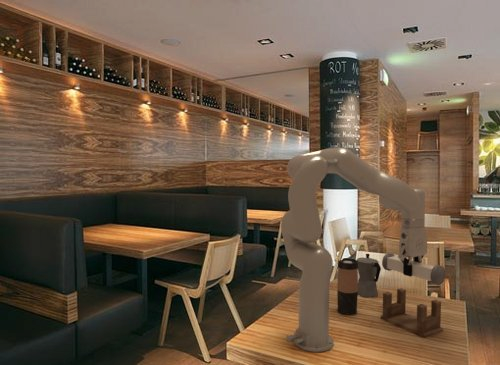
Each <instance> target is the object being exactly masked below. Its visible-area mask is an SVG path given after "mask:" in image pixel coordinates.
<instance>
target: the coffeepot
mask: <svg viewBox="0 0 500 365" xmlns="http://www.w3.org/2000/svg"><path fill="white" fill-rule="evenodd" d="M356 260H357V261H358V295H357V296H359V295H360V297H362V296H363V297H364V298H369V297H371V298H376V297H377V296H379V293H378V286H377V282H378V280H379V277H380V273H381V271H382V268H381V264H380V263H379V262H380V261H378V259H375V258H372V257H370V253H365V257H357V259H356Z"/></svg>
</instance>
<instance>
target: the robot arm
mask: <svg viewBox="0 0 500 365" xmlns="http://www.w3.org/2000/svg"><path fill="white" fill-rule="evenodd" d="M286 171H287V174H288V176H289V177H290V178H291V179H292V180H291V183H290V185H289V188H288V192H287V193H288V194H287V196H288V197H287V199H288V206H289V210H288V211H286V212H285V213H284V214H283V216H282V218H281V221H280V222H281V223H280V229H281V234H282V238H283V239H282V240H283V244H284V248H285V253H286V256H287V259H288V261H289V262H290V264H291V265H292V266H294V267H295V268H298V269H299V270H301V271H302V274H301V277H300V280H299V285H298V327H297V328H296V329H295V332H294V333H293V334H290V335H286V336H285V337H286V338H285V339H286V342H287V343H291V342H294V345H295V346H296V347H298V348H299V349H300V350H303V351H307V352H310V353H311V352H312V353H320V352H327V351H329V350H331V349H332V348H333V347H334V343H335V341H334V338H333V337H332V336H330V332H329V331H330V327H329V326H330V282H331V281H330V280H331V276H332V270H333V257H332V254H331V253H330V251H329V250H328V249H327V248H325V247H324V246H321V245H319V244H317V243H315V242H317V241H318V240H319V239H320V238H321V236H322V232H323V230H322V229H323V228H322V223H321V218H320V213H319V209H318V203H317V202H318V201H317V190H318V188H319V185H320V184H321V182H322V181H323V180H324V179H325V177H326V176H327V174H336V175H338V176H340V177H341V178H342V179H344V180H346V181H347V182H348V183H350V184H351V185H353V186H354V187H355V188H357V189H359V190H360V191H362V192H366V193H368V194H372V195H376V196H378V203H379V204H380V205H381V206H382V207H383V208H384V209H387V210H391V211H399V212H401V221H400V222H401V223H400V224H401V226H400V232H399V240H398V241H399V243H398V255H397V257H398V258H399V259H401V261H402V263H403V273H402V274H403V275H404V276H408V277H412V265H411V261H415V262H419V263H423V258H424V256H425V255H427V253H428V235H427V229H426V227H425V224H426V221H425V220H426V218H425V217H426V216H425V214H426V192H425V191H426V190H424V189H423V188H414V187H411V186H410V185H409V184H407V183H406V182H405V181H403V180H401V179H399V178H397V177H396V176H393V175H390V174H388V173H387V172H384V171H382V170H379V169H377V168H375V167H374V166H372V165H371V164H370V163H368V162H366V160H364V159H363V158H361V157H360V156H358V155H357V154H356V153H354V151H352V150H350V149H348V148H346V147H329V148H324V149H321V150H317V151H312V152H308V153H303V154H299V155H298V154H297V155H295V156H293V157H291V159H290V160H289V161H288V163H287V166H286Z"/></svg>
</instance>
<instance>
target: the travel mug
mask: <svg viewBox="0 0 500 365" xmlns="http://www.w3.org/2000/svg"><path fill="white" fill-rule="evenodd" d="M358 280H359V273H358V261H357V259H354V258H353V259H352V258H342V259H341V260H340V259H338V260H337V284H336V285H337V289H336V291H337V295H336V296H337V297H336V298H337V312H338V314H341V315H344V316H354V315H356V314H357V312H358V311H357V310H358V296H359V295H358Z"/></svg>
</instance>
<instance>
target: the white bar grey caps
mask: <svg viewBox="0 0 500 365" xmlns="http://www.w3.org/2000/svg"><path fill="white" fill-rule="evenodd" d="M394 254H395V253H391V252H387V253H386V254H384V255H383V256H382V260H381V262H382V263H381V265H382V268H383V269H384V270H385V271H388V272H389V271H395V272H399V273H402V274H403V263H402V261H401V259H399V258H398V256H396V255H394ZM411 265H412V276H413V277H416V278H419V279H422V280H426V281H430V282H431V283H432V284H433V285H437V286H441V285H442V284H443V283H444V281H445V279H446V269H445V267H444V266H443V265H439V264H436V265H430V264H425V263H423V262H422V263H419V262H415V261H413V260H412V261H411ZM412 276H411V277H412Z"/></svg>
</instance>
